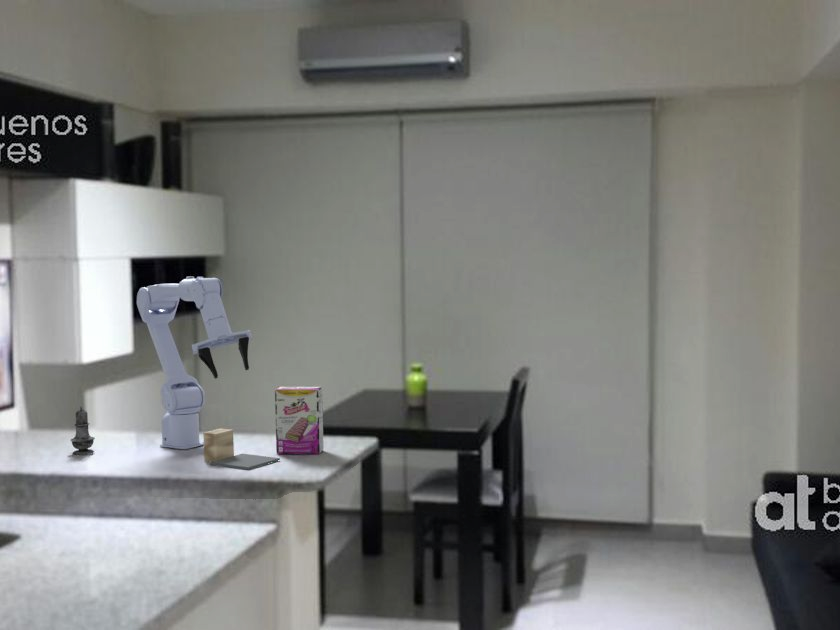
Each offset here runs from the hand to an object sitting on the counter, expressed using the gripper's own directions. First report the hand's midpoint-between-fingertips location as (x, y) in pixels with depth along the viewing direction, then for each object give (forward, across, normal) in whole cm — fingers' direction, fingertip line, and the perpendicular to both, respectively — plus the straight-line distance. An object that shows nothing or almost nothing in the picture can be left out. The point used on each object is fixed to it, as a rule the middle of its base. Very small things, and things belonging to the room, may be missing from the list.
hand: (231, 372), depth 229 cm
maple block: (+17, -8, +10) cm, 21 cm away
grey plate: (+21, -3, +4) cm, 22 cm away
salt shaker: (+1, -38, +29) cm, 48 cm away
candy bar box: (+22, +12, +10) cm, 27 cm away
